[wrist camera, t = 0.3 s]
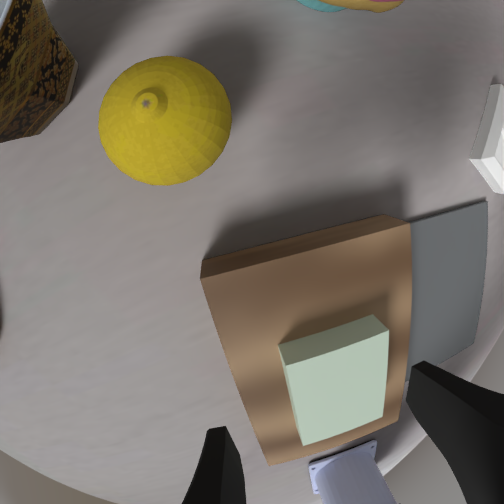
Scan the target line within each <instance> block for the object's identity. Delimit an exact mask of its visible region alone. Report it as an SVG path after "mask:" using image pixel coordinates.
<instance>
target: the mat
mask: <svg viewBox="0 0 504 504" xmlns="http://www.w3.org/2000/svg"><path fill="white" fill-rule="evenodd" d="M408 223H410V230H411V250H412V304H411V325H410V339H409V350H408V359H407V368H406V376H405V381H408V380H410V373H411V367H412V366H413V365H415V364H417V363H419V362H421V361H423V360H424V361H426V362H428V363H431V364H433V365H435V366H436V365H438V364H440V363H442V362H444V361H445V360H447V359H449V358H450V357H452V356H454V355H456V354H457V353H459V352H460V351H462V350H464V349H465V348H467V347H468V346H470V345H472V344H473V343H474V339H475V335H476V330H477V325H478V320H479V314H480V308H481V302H482V295H483V287H484V279H485V269H486V257H487V237H488V201H482V202H478V203H475V204H471V205H468V206H464V207H461V208H457V209H454V210H450V211H447V212H443V213H440V214H436V215H433V216H429V217H426V218H422V219H418V220H415V221H411V222H408Z"/></svg>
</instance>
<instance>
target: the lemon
mask: <svg viewBox="0 0 504 504" xmlns="http://www.w3.org/2000/svg"><path fill="white" fill-rule="evenodd" d="M231 123H232V116H231V106H230V102H229V99H228V97H227V94H226V92H225V89H224V87H223V86H222V85H221V83H220V82H219V81H218V79H217V78H216V77H215V76H214V74H212V73H211V72H210V71H208V70H207V69H206V68H204V67H203V66H202V65H200V64H198V63H196V62H194V61H191V60H188V59H186V58H183V57H174V56H162V57H154V58H149V59H147V60H144V61H141V62H139V63H136V64H134V65H133V66H131V67H130V68H128V69H127V70H125V71H124V72H123V73H122V74H121V75H120V76H119V77H118V78H117V79H116V80H115V81H114V82H113V83H112V84H111V86H110V88H109V89H108V91H107V93H106V94H105V96H104V98H103V101H102V105H101V108H100V111H99V125H98V129H99V134H100V139H101V143H102V145H103V147H104V149H105V151H106V153H107V155H108V157H109V159H110V160H111V161H112V162H113V163H114V164H115V165H116V166H117V167H118V169H119V170H120V171H122V172H123V173H125V174H127V175H128V176H130V177H131V178H133V179H135V180H137V181H141V182H144V183H147V184H150V185H173V184H178V183H183V182H186V181H188V180H190V179H192V178H194V177H197V176H199V175H200V174H202V173H203V172H204V171H205V170H207V169H208V168H209V167H210V166H212V165H213V163H214V162H215V161H216V160H217V158H218V157H219V156H220V154H221V153H222V152H223V150H224V147H225V145H226V143H227V141H228V139H229V135H230V129H231Z"/></svg>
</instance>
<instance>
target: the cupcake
mask: <svg viewBox="0 0 504 504" xmlns="http://www.w3.org/2000/svg"><path fill="white" fill-rule="evenodd" d="M297 1H298V2H300V3H301V4H303V5H305V6H307V7H309V8H312V9H315V10H318V11H323V12H336V11H340V10H343V9H345V8H349V9H355V10H370V11H373V12H376V13H380V12H385V11H388V10H391V9H393V8H395V7H397V6H399V5H400V4H401V3H402V2H403V1H404V0H297Z"/></svg>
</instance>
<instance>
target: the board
mask: <svg viewBox="0 0 504 504" xmlns="http://www.w3.org/2000/svg"><path fill="white" fill-rule="evenodd" d="M200 280H201V283H202V287H203V290H204V293H205V296H206V299H207V302H208V305H209V308H210V311H211V315H212V318H213V321H214V324H215V327H216V329H217V332H218V335H219V338H220V341H221V344H222V347H223V350H224V353H225V355H226V358H227V361H228V364H229V367H230V369H231V372H232V375H233V378H234V380H235V383H236V386H237V388H238V391H239V394H240V396H241V399H242V402H243V404H244V407H245V409H246V412H247V414H248V417H249V419H250V422H251V424H252V427H253V429H254V432H255V434H256V437H257V439H258V442H259V444H260V446H261V449H262V451H263V454H264V456H265V458H266V461H267V463H268V465H269V466H271V465H275V464H280V463H284V462H287V461H291V460H295V459H298V458H302V457H305V456H309V455H312V454H315V453H318V452H322V451H325V450H328V449H331V448H333V447H336V446H339V445H342V444H345V443H347V442H350V441H353V440H355V439H358V438H360V437H363V436H365V435H367V434H370V433H372V432H374V431H377V430H379V429H381V428H384V427H386V426H388V425H390V424H392V423H394V422H396V421H398V418H399V413H400V408H401V402H402V396H403V390H404V383H405V376H406V368H407V359H408V350H409V339H410V325H411V304H412V250H411V230H410V223H408V222H405V221H402V220H400V219H397V218H394V217H391V216H388V215H385V214H383V215H379V216H375V217H371V218H367V219H363V220H359V221H355V222H351V223H347V224H343V225H339V226H335V227H331V228H327V229H323V230H319V231H315V232H311V233H307V234H303V235H299V236H296V237H292V238H288V239H284V240H280V241H276V242H272V243H268V244H264V245H260V246H256V247H252V248H248V249H245V250H241V251H237V252H233V253H229V254H225V255H221V256H217V257H213V258H210V259H206V260H202V266H201V275H200ZM372 314H373V315H374V316H375V317H376V318H377V319H378V320H379V321H380V322H381V323H382V324H383V325H384V326H385V327H386V328H387V329H388V330H389V346H388V365H387V379H386V390H385V400H384V408H383V416H382V417H381V418H378V419H376V420H374V421H372V422H369V423H367V424H364V425H362V426H359V427H357V428H354V429H352V430H349V431H346V432H344V433H341V434H338V435H335V436H333V437H330V438H327V439H324V440H321V441H318V442H315V443H311V444H308V445H305V446H303V444H302V441H301V439H300V436H299V433H298V430H297V427H296V423H295V418H294V414H293V409H292V405H291V400H290V396H289V392H288V387H287V383H286V378H285V374H284V370H283V365H282V361H281V356H280V352H279V348H278V345H279V344H282V343H286V342H289V341H293V340H296V339H299V338H303V337H306V336H309V335H313V334H316V333H319V332H322V331H325V330H328V329H331V328H335V327H338V326H341V325H343V324H346V323H349V322H352V321H355V320H358V319H361V318H364V317H366V316H369V315H372Z"/></svg>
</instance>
